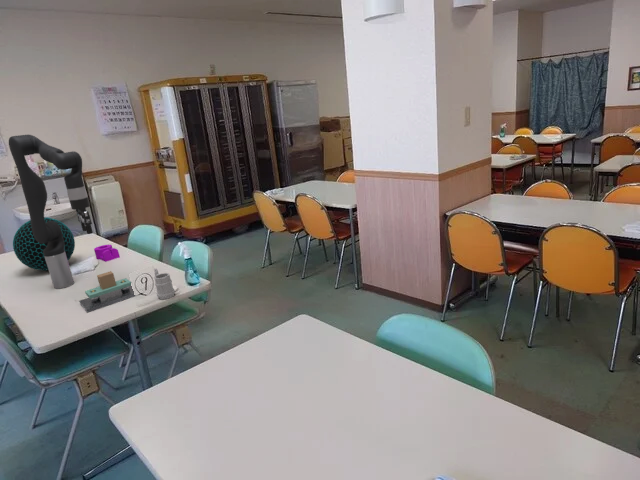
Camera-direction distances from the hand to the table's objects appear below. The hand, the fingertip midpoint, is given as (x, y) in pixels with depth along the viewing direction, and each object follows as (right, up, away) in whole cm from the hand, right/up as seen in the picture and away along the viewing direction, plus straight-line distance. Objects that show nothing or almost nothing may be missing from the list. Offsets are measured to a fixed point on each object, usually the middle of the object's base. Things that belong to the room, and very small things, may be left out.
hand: (87, 232), depth 205 cm
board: (+10, -26, -1) cm, 28 cm away
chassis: (+11, -30, 0) cm, 32 cm away
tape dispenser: (-21, -14, +64) cm, 69 cm away
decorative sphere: (-49, -20, +56) cm, 77 cm away
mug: (+36, -28, -3) cm, 46 cm away
